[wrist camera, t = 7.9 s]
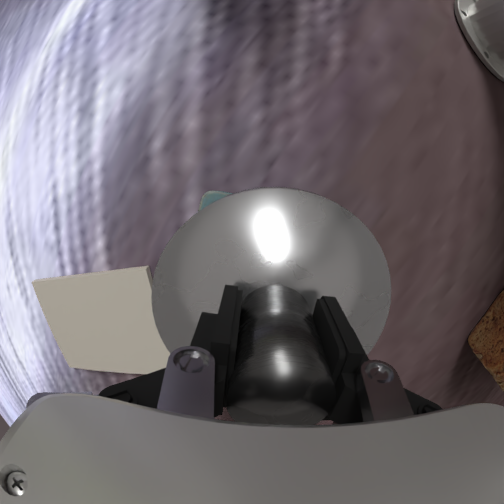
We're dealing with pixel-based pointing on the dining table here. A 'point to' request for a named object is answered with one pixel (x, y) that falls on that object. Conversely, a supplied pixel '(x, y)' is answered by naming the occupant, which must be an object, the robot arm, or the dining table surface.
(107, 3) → the dining table surface
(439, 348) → the dining table surface
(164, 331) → the lid
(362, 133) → the dining table surface
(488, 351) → the bread
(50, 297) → the linen napkin
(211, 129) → the dining table surface
